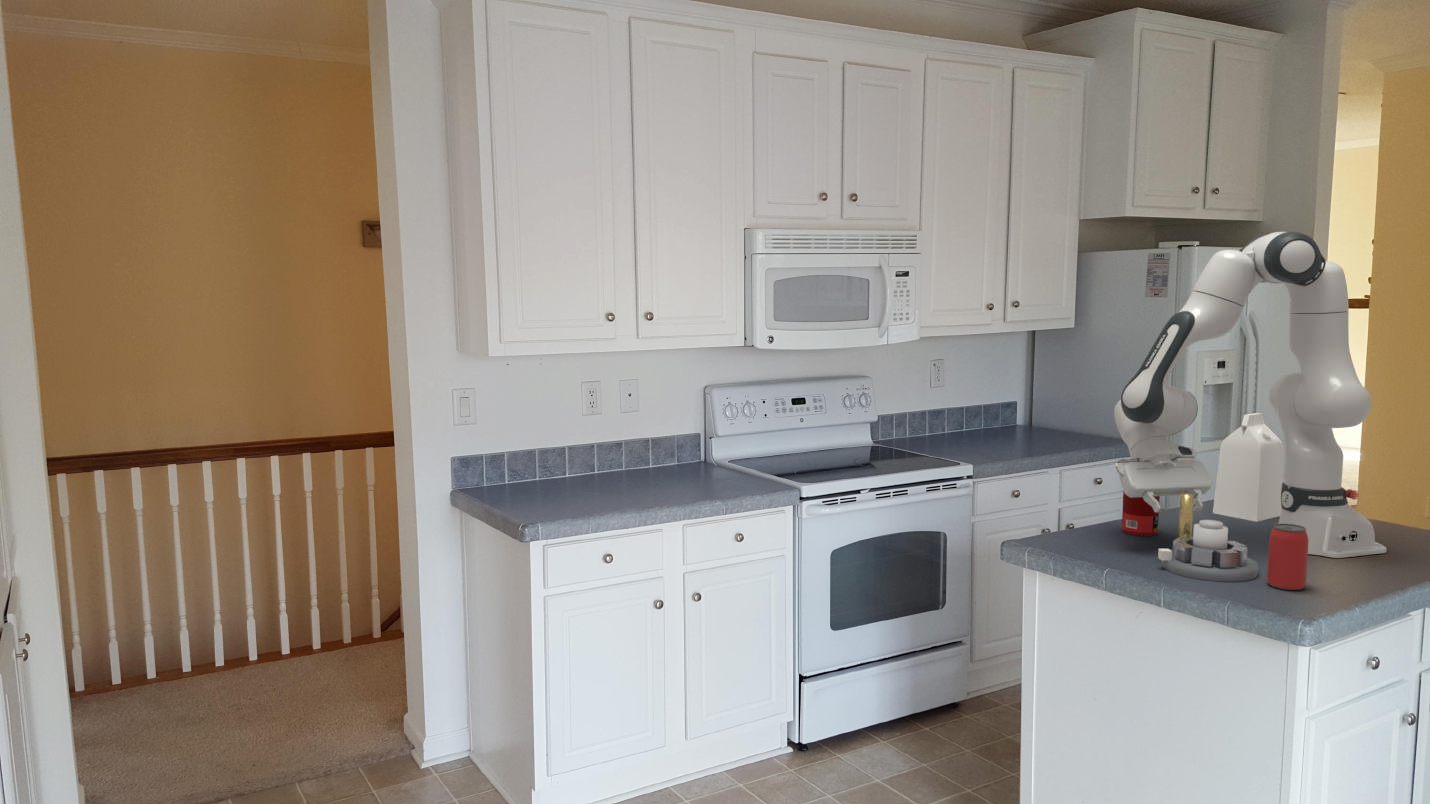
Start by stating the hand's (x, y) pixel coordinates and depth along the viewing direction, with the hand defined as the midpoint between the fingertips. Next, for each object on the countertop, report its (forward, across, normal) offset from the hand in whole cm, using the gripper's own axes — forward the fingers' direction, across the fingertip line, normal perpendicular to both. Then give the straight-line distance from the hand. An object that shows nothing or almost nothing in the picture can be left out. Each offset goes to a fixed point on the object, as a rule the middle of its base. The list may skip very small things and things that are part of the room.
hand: (1179, 510), depth 219 cm
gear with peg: (+12, 0, -1) cm, 12 cm away
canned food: (-7, +4, +21) cm, 22 cm away
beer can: (+25, +6, -10) cm, 27 cm away
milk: (-14, +42, +29) cm, 53 cm away
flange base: (+15, -1, -1) cm, 15 cm away
